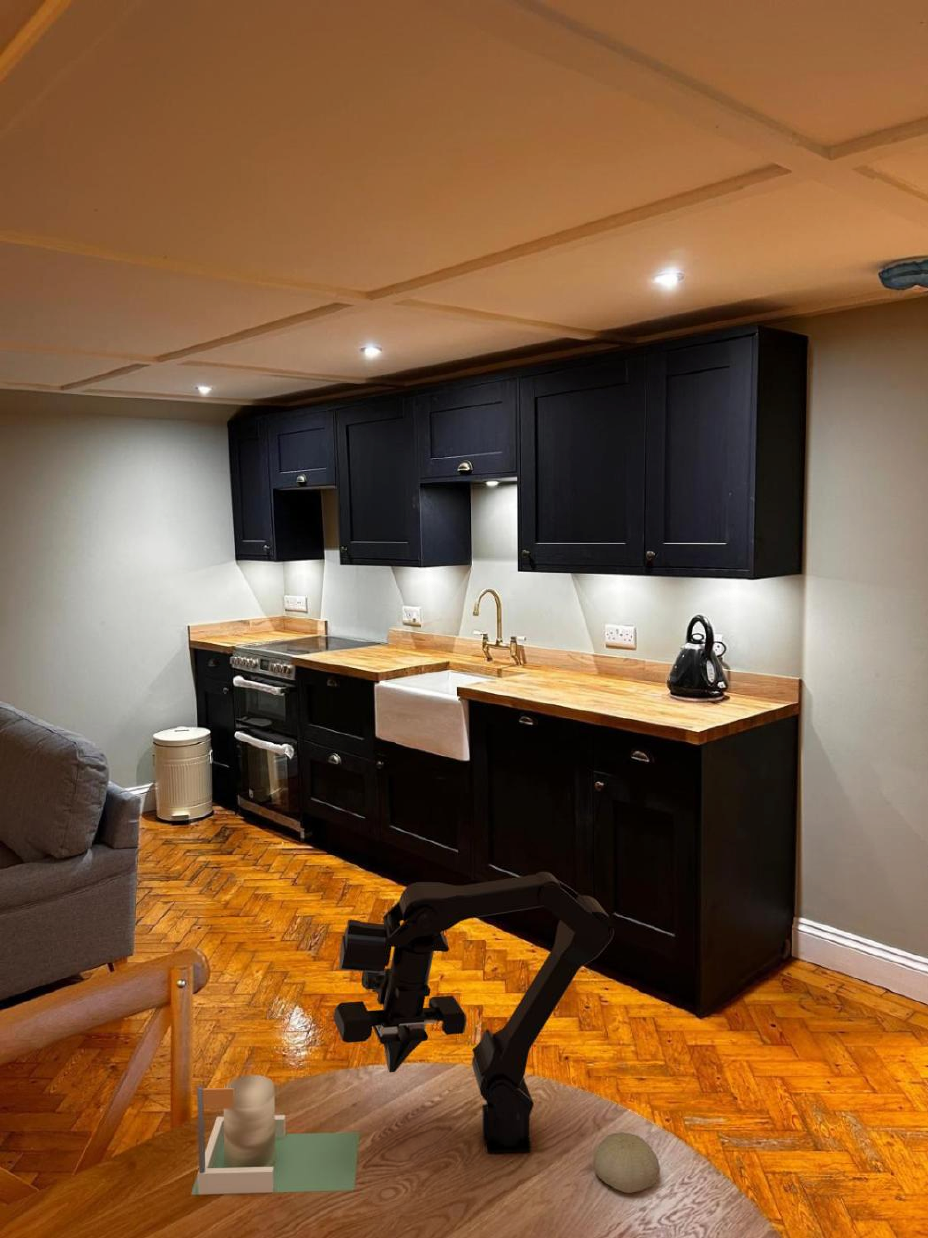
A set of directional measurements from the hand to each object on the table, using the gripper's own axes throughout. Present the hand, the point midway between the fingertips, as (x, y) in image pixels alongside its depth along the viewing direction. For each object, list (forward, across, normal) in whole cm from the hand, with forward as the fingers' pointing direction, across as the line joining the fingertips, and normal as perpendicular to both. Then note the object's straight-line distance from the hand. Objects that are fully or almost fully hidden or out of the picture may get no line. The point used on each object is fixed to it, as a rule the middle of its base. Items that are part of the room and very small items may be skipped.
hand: (391, 1070), depth 135 cm
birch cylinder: (+14, +18, -2) cm, 23 cm away
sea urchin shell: (+6, -30, +19) cm, 36 cm away
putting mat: (+14, +14, 0) cm, 20 cm away
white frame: (+14, +19, -2) cm, 24 cm away
